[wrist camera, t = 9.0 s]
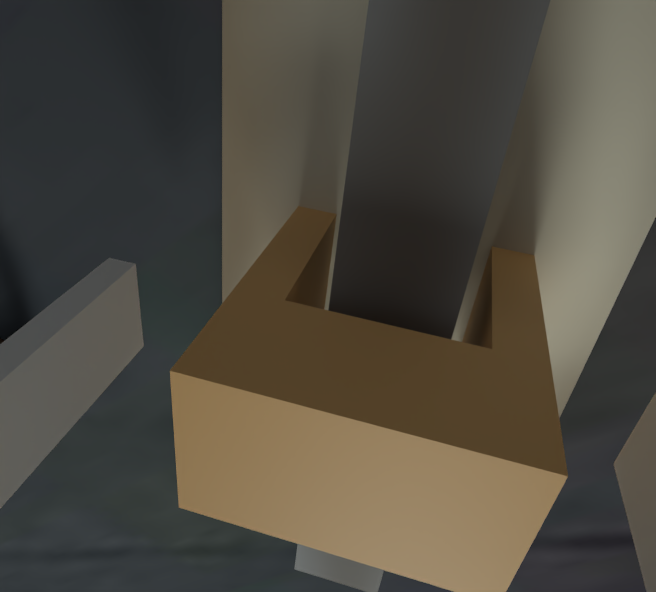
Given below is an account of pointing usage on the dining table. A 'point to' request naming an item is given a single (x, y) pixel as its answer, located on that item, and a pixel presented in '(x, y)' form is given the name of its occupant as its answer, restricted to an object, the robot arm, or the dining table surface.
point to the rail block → (444, 158)
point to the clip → (372, 420)
